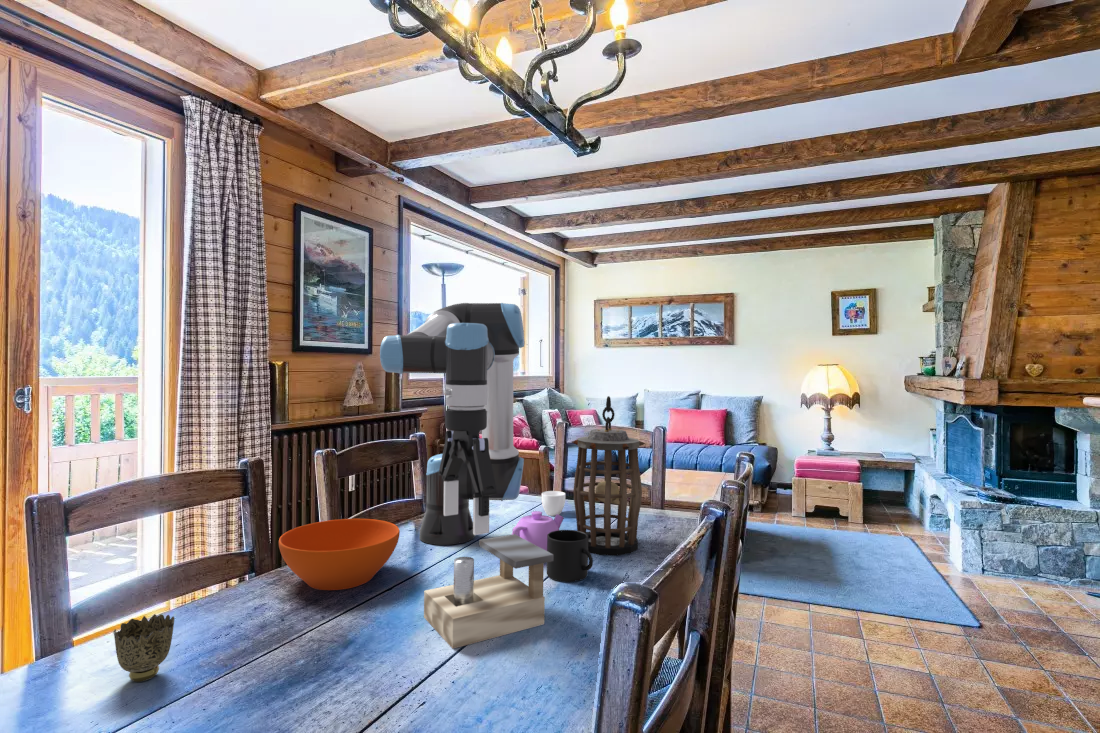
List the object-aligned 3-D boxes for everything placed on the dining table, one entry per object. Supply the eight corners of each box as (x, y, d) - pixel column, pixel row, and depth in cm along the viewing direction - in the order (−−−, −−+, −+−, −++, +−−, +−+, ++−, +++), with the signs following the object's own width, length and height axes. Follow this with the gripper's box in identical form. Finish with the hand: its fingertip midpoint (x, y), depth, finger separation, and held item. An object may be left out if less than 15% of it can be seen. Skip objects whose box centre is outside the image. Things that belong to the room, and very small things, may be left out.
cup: (536, 515, 183) (536, 493, 183) (553, 508, 191) (553, 488, 191) (556, 518, 179) (556, 497, 179) (573, 512, 187) (573, 491, 187)
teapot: (582, 548, 149) (582, 508, 149) (535, 569, 133) (536, 524, 133) (540, 538, 158) (540, 500, 158) (491, 557, 141) (492, 514, 142)
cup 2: (134, 665, 89) (134, 613, 89) (183, 663, 89) (184, 612, 89) (100, 692, 81) (101, 636, 81) (154, 690, 82) (155, 634, 82)
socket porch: (422, 616, 107) (423, 548, 108) (513, 595, 118) (514, 534, 118) (453, 650, 95) (454, 573, 95) (552, 623, 105) (553, 554, 105)
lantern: (636, 561, 140) (638, 398, 140) (561, 552, 146) (563, 396, 146) (648, 539, 158) (650, 395, 158) (581, 532, 164) (583, 393, 165)
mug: (578, 589, 122) (579, 547, 122) (538, 575, 130) (538, 535, 130) (605, 577, 129) (605, 537, 129) (565, 564, 137) (565, 527, 137)
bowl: (421, 578, 127) (421, 533, 127) (309, 612, 109) (310, 560, 109) (364, 552, 144) (364, 513, 144) (259, 578, 126) (259, 533, 126)
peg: (450, 624, 104) (451, 558, 104) (468, 619, 106) (469, 555, 106) (457, 632, 101) (458, 564, 101) (476, 627, 103) (477, 561, 103)
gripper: (423, 403, 112) (422, 510, 113) (476, 414, 91) (475, 546, 92) (458, 402, 116) (457, 505, 117) (517, 412, 95) (515, 539, 96)
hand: (465, 523), depth 104 cm, fingers open, 13 cm apart
